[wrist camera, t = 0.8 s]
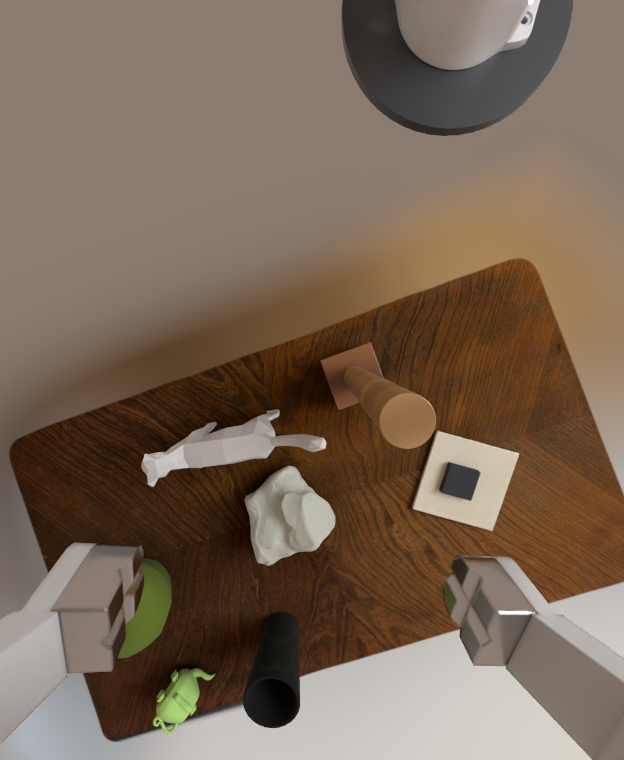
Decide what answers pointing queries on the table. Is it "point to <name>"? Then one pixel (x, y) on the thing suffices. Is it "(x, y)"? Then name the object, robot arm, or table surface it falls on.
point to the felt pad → (459, 481)
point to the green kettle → (179, 698)
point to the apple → (148, 609)
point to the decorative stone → (287, 517)
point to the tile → (488, 490)
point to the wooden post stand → (379, 397)
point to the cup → (275, 674)
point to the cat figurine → (225, 447)
